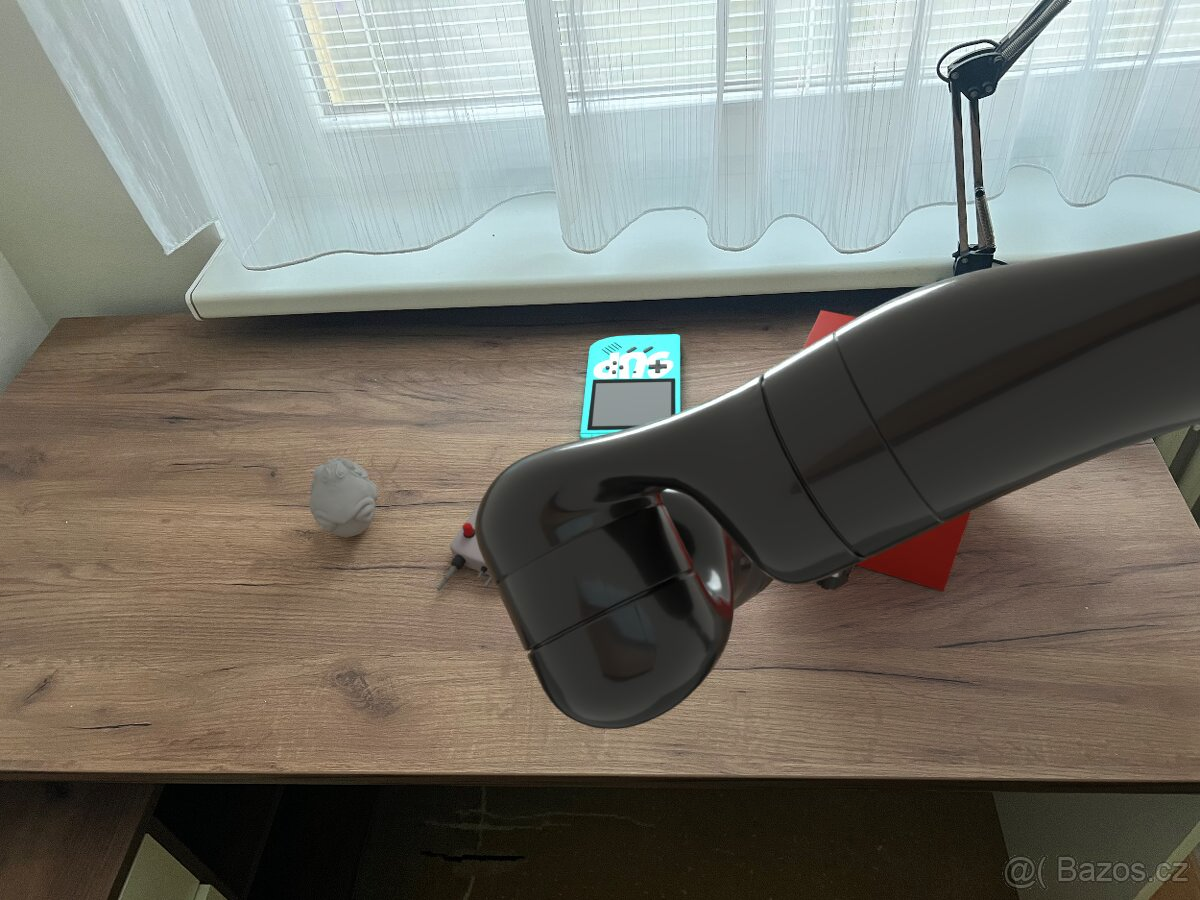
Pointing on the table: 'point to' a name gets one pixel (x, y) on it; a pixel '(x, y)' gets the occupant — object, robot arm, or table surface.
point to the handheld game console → (630, 383)
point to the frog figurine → (342, 497)
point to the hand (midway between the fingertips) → (760, 527)
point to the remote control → (466, 552)
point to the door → (923, 555)
